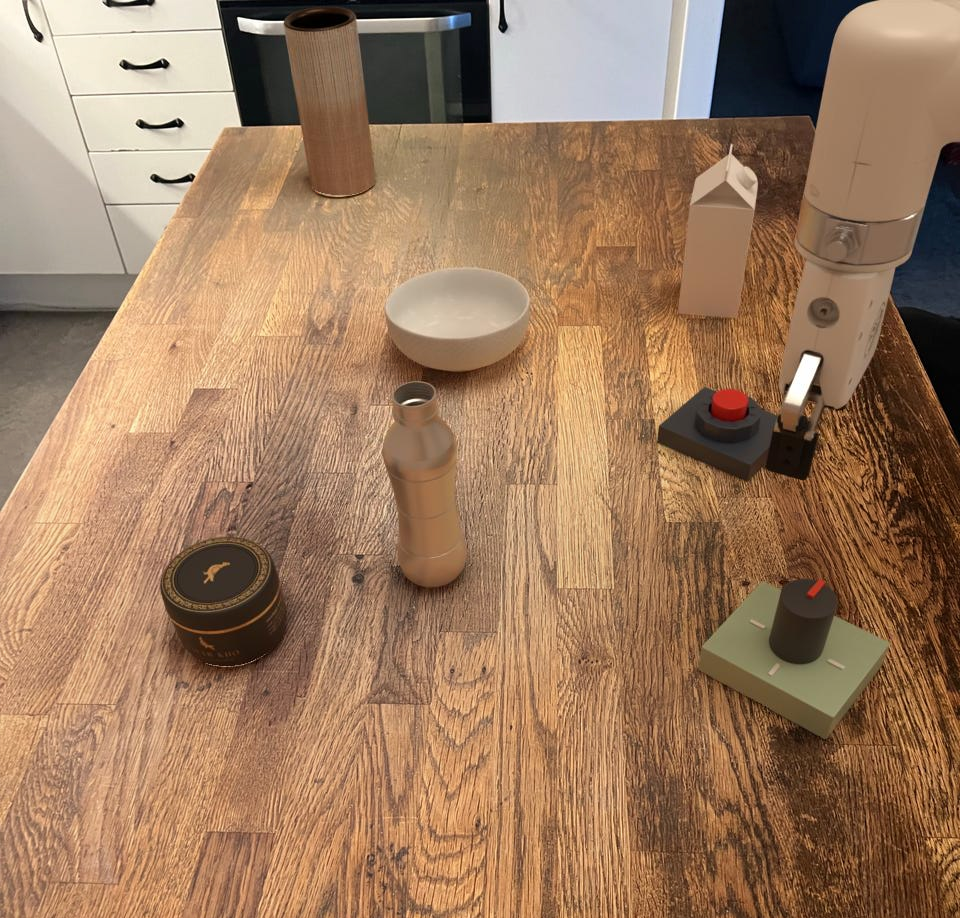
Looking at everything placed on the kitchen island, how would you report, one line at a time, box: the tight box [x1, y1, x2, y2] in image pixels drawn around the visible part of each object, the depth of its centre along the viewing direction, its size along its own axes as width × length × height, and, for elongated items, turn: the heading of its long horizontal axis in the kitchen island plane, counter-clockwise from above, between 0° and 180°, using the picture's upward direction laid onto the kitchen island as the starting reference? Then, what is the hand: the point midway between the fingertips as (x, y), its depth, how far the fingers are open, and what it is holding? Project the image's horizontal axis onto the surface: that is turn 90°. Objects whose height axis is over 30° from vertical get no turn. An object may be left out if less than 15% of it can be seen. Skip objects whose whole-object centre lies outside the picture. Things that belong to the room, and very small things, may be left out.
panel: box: [697, 580, 891, 740], centre depth 84 cm, size 12×10×3 cm
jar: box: [159, 536, 287, 666], centre depth 88 cm, size 10×10×8 cm
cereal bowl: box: [384, 266, 531, 373], centre depth 117 cm, size 17×17×7 cm
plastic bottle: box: [381, 380, 468, 588], centre depth 87 cm, size 6×7×20 cm
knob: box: [769, 578, 839, 664], centre depth 80 cm, size 4×4×6 cm
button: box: [711, 388, 749, 422], centre depth 103 cm, size 4×4×2 cm
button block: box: [656, 386, 778, 483], centre depth 105 cm, size 11×9×4 cm
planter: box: [283, 6, 377, 195], centre depth 145 cm, size 10×10×23 cm
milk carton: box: [677, 143, 759, 319], centre depth 116 cm, size 7×7×19 cm
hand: (806, 438), depth 78 cm, fingers open, 9 cm apart
